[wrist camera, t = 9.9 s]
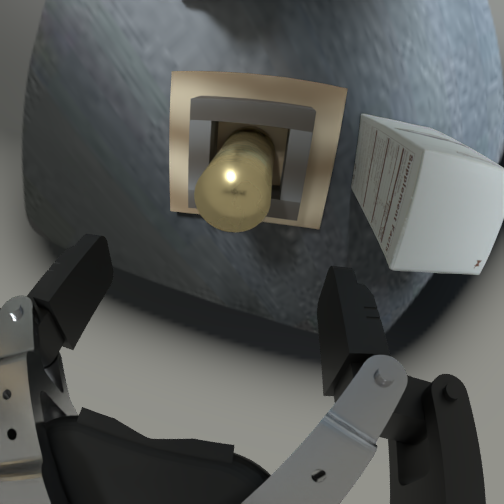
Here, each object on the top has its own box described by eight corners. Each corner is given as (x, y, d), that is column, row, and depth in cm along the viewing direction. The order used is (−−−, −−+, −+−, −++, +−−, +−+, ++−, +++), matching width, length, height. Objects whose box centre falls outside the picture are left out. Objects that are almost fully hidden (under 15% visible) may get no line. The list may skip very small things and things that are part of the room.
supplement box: (432, 126, 21) (520, 176, 11) (416, 198, 25) (480, 279, 15) (358, 110, 21) (425, 145, 11) (347, 188, 26) (389, 275, 15)
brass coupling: (226, 123, 22) (192, 156, 14) (278, 129, 22) (277, 165, 14) (222, 171, 25) (192, 229, 16) (272, 177, 24) (267, 238, 16)
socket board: (176, 71, 21) (158, 71, 17) (344, 88, 21) (356, 90, 17) (174, 205, 28) (159, 226, 25) (317, 223, 28) (322, 246, 24)
